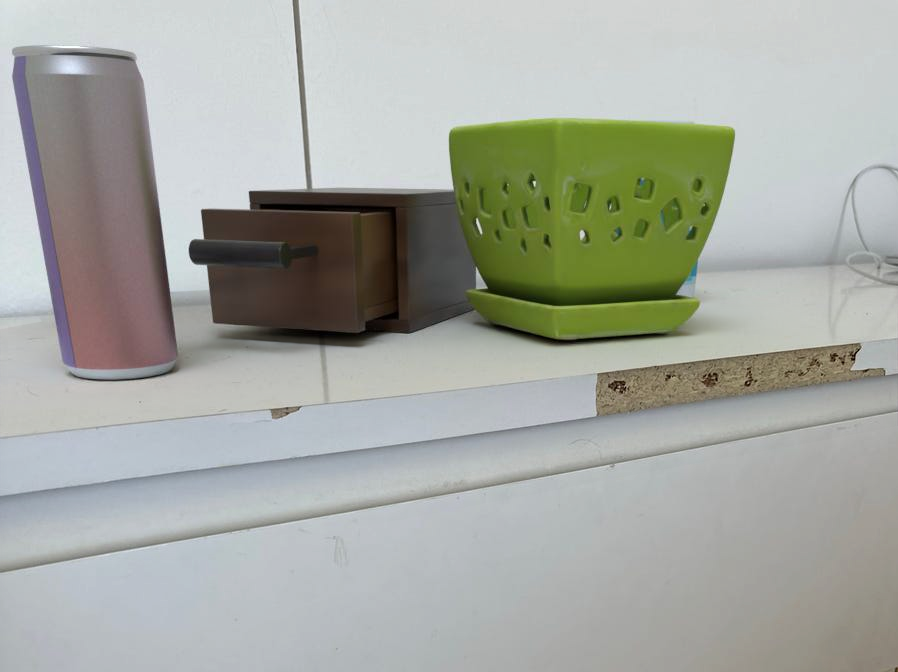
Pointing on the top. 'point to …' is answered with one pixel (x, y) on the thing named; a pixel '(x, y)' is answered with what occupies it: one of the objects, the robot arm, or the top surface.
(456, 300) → the cabinet
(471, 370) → the top surface
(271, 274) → the drawer
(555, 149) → the flower pot
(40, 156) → the beverage can
